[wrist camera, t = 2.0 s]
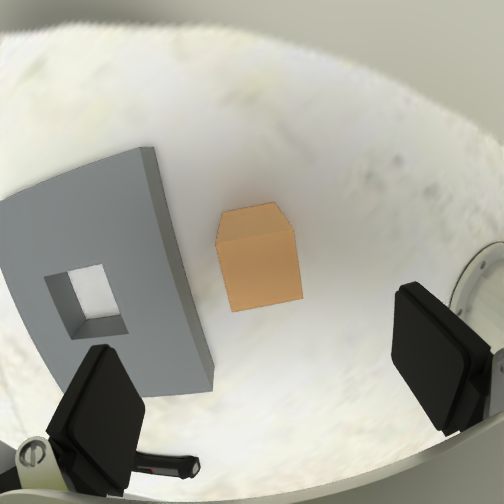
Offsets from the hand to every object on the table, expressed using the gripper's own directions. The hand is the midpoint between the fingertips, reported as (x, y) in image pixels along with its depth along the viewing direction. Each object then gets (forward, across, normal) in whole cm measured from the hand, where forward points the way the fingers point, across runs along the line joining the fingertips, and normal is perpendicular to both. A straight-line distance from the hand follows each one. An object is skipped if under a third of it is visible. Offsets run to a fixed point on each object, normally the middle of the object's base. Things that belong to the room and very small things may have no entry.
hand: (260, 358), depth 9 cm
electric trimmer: (+16, +19, +28) cm, 38 cm away
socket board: (+16, +13, +2) cm, 20 cm away
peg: (+15, -1, 0) cm, 15 cm away
